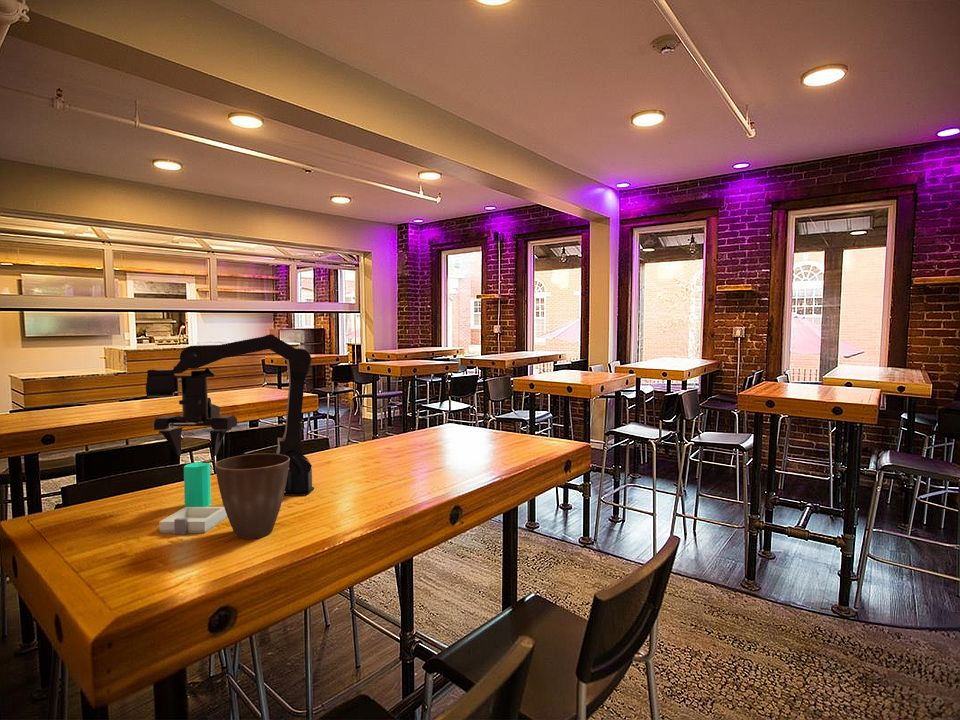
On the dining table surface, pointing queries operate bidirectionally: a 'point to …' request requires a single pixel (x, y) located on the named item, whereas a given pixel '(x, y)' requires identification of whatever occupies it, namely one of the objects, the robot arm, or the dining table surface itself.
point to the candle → (197, 485)
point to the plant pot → (252, 491)
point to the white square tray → (193, 520)
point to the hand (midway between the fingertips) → (196, 456)
